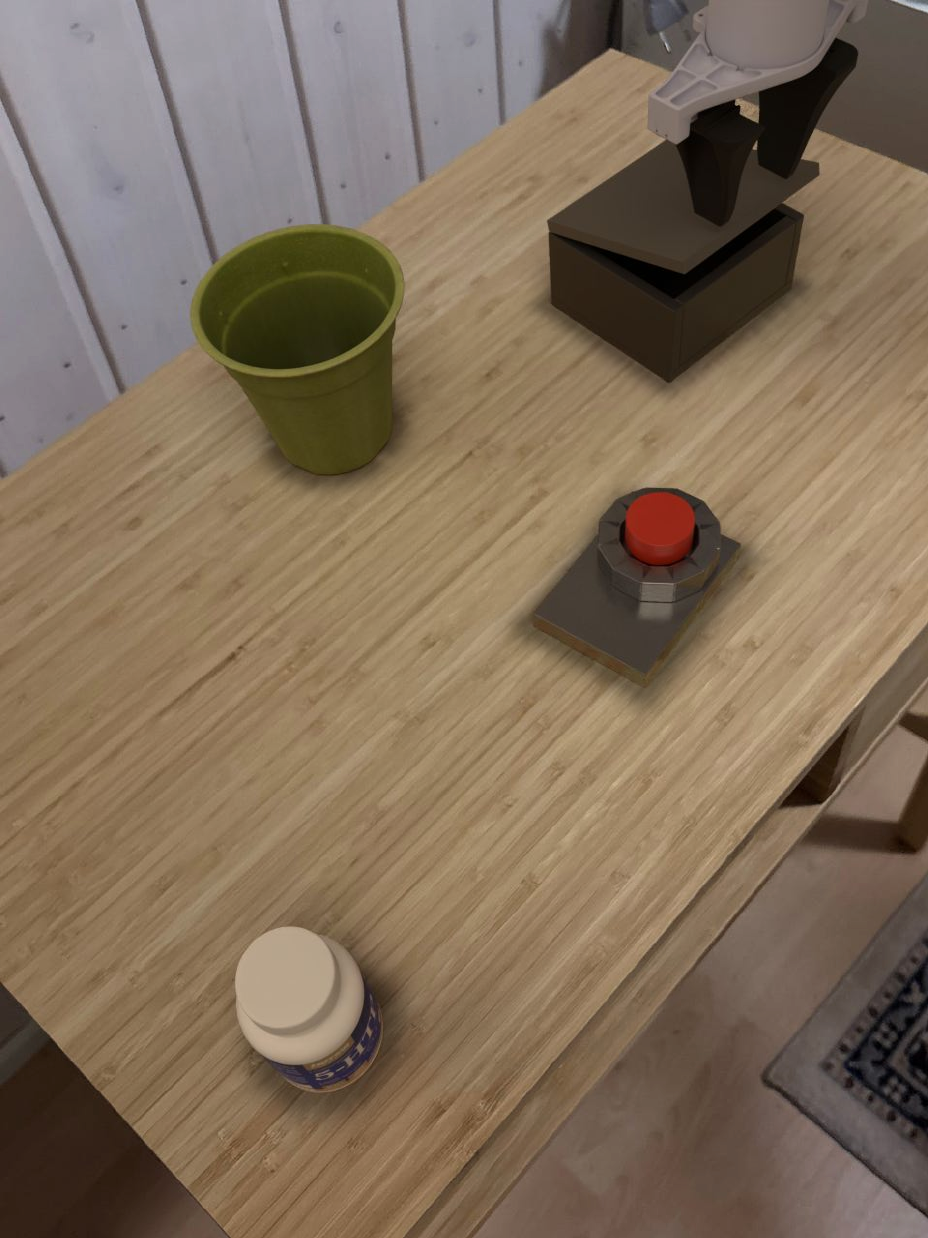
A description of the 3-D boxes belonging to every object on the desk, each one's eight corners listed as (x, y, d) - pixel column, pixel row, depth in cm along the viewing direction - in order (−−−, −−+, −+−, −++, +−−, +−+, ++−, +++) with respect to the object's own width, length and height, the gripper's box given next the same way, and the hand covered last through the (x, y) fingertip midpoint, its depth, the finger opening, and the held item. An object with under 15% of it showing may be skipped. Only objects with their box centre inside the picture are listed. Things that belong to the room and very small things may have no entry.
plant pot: (207, 430, 73) (150, 292, 64) (359, 340, 76) (326, 195, 67) (308, 541, 67) (261, 408, 58) (467, 439, 70) (448, 296, 61)
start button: (647, 502, 63) (648, 481, 62) (705, 530, 62) (707, 509, 60) (612, 546, 62) (612, 526, 60) (670, 576, 60) (672, 556, 59)
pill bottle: (341, 1118, 50) (297, 1075, 42) (246, 1054, 52) (189, 1002, 44) (407, 1009, 52) (376, 950, 45) (314, 952, 54) (270, 886, 46)
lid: (820, 175, 67) (819, 162, 67) (684, 274, 64) (682, 261, 63) (677, 144, 75) (675, 132, 74) (549, 231, 71) (546, 220, 71)
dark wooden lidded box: (791, 288, 75) (805, 214, 70) (669, 383, 71) (674, 311, 67) (671, 218, 80) (675, 144, 75) (550, 303, 76) (548, 232, 71)
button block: (633, 501, 67) (635, 468, 64) (741, 554, 64) (747, 521, 61) (533, 626, 63) (531, 595, 60) (644, 688, 60) (646, 658, 57)
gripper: (808, -143, 57) (773, 106, 69) (603, -20, 53) (602, 224, 64) (928, -100, 54) (870, 153, 65) (720, 35, 50) (697, 282, 61)
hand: (743, 192), depth 65 cm, fingers open, 5 cm apart
